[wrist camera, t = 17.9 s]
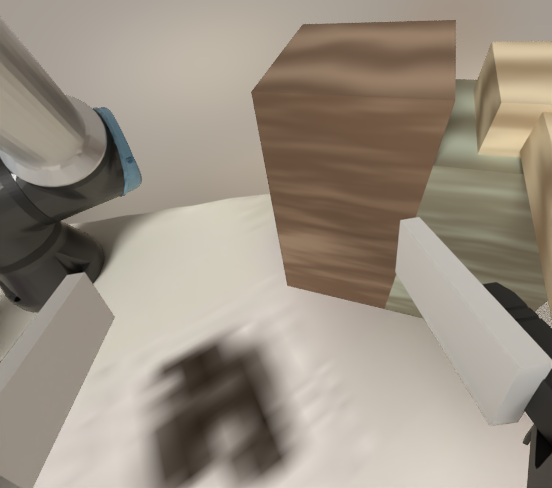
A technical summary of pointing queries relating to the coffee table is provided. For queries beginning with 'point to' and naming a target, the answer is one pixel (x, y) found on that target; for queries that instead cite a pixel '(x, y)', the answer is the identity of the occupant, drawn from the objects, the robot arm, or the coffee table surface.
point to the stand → (386, 163)
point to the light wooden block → (521, 126)
